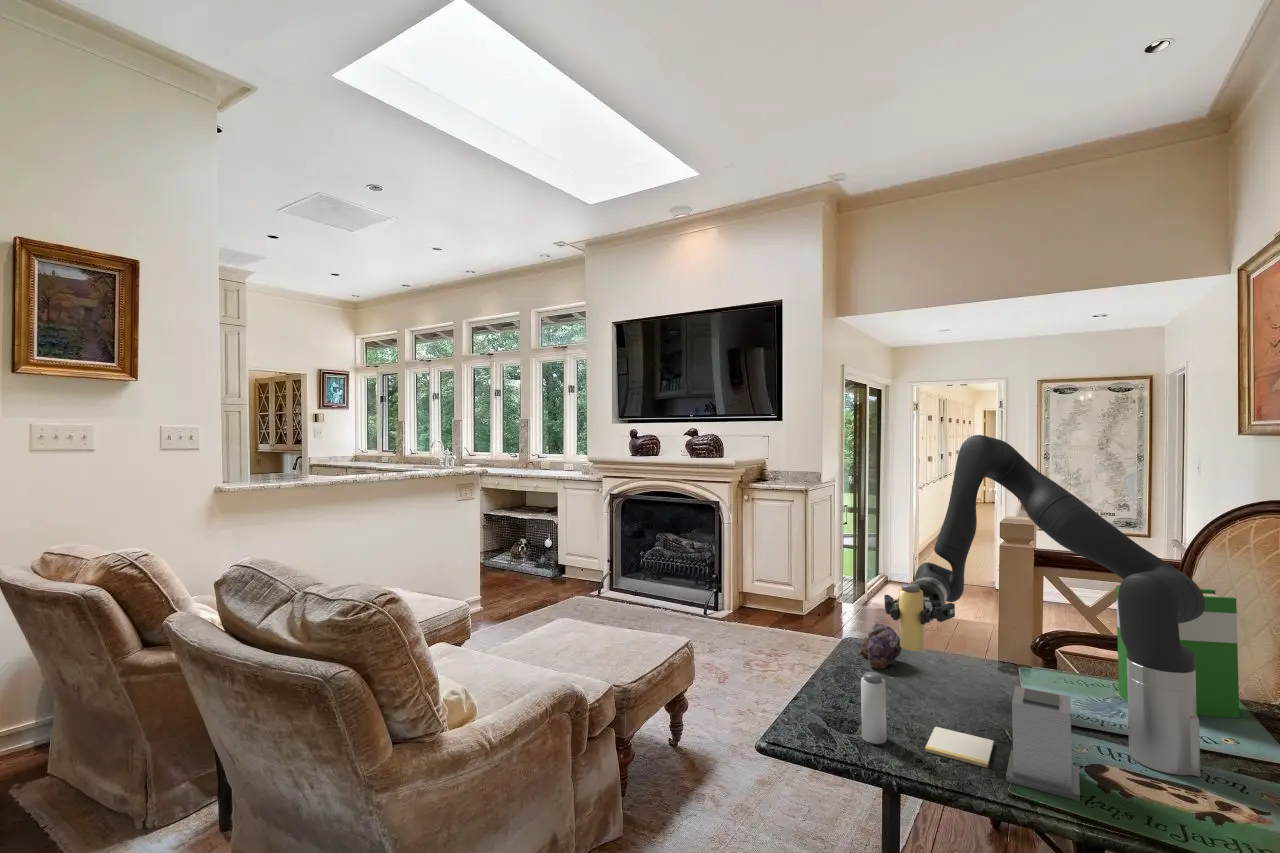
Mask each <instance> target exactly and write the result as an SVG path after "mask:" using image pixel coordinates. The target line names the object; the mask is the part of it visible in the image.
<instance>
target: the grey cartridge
mask: <svg viewBox="0 0 1280 853" xmlns="http://www.w3.org/2000/svg"><path fill="white" fill-rule="evenodd" d="M886 695H887V694H886V680H885V679H884V678H883V676H882V674H880V673H879V672H876V671H875V672H874V671H866V672H864V673H863V676H862V677H861V678H860V703H861V704H860V705H861V707H860V708H861V709H860V710H861V712H860V713H861V739H862V740H863V741H865V742H866V743H870V744H874V745H875V744H876V745H881V744H885V743H886V742H887V703H886V701H887V697H886Z"/></svg>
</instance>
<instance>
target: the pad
mask: <svg viewBox="0 0 1280 853" xmlns="http://www.w3.org/2000/svg"><path fill="white" fill-rule="evenodd" d="M994 743H995V740H994V739H993V740H992V739H989V738H985V737H980V736H976V735H972V734H967V733H964V732H961V731H960V732H959V731H955V730H952V729H947V728H943V727H939V726H934V728H933V730H932V732H931V733H930V737H929V739H928V741H927V743H926V745H925V748H924V751H925V752H926V753H930V754H933V755H936V756H942V757H944V758H947V759H953V760H956V761H961V762H963V763H967V764H971V765H975V766H979V767H983V768H986V769H988V768H989V764H990V759H991V755H992V752H993V747H994Z"/></svg>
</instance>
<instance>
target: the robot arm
mask: <svg viewBox="0 0 1280 853" xmlns="http://www.w3.org/2000/svg"><path fill="white" fill-rule="evenodd" d="M954 468H955V469H954V476H953V480H952V486H951V491H950V497H949V502H948V506H947V510H946V513H945V517H944V520H943V521H942V522H943V523H942V525H941V528H940V530H939V533H938V536H937V540H936V541H935V543H934V544H935V545H934V547H933V548H934V550H933V551H934V552H935V554H936V555H937V556H939V557H940V558H942V559H943V560H944V561H946V562H947V563H948V564H950V568H951V570H950V569H948V568H946V567H942V566H941V565H938V564H935V563H932V562H923V563H922V564H920V565H919V567H918V568H917V569H916V572H915V576H914V581H913V582H912V583H911V584H916V585H919V586H920V590H922V591H923V610H922V612H921V613H920V623H921V624H923V625H924V626H925V625H926V624H927V623H930V622H933V621H934V620H936V621H937V622H940V623H943V622H946V621H948V620H950V619H952V618H955V617H956V603H955V602H958V600H960V598H961V597H962V596H963V594H964V589H965V569H966V564H967V563H966V562H967V558H968V555H969V551H970V549H971V546H972V545H973V542H974V539H975V536H976V533H977V524H978V522H977V521H978V520H977V518H978V517H977V516H978V515H977V497H978V493H979V491H980V490H979V489H980V487H981V484H982V482H983V481H984V479H985V478H988V479H990V480H992V481H995V482H996V483H997V484H999V485H1000V486H1002V487H1003V488H1004V489H1006V490H1007V491H1009V492H1011V493H1012V494H1013V495H1014V496H1015V497H1016V498H1017V499H1018V501H1019V502H1020V503H1021V505H1022V507H1023V509H1024V511H1025V512H1026V515H1028V518H1030V520H1031V521H1032V522H1033V523H1034V524H1035V525H1036V526H1037V527H1038V528H1039V529H1041V531H1043V532H1044V533H1045V534H1046V535H1047V536H1049V537H1050V538H1051V539H1052V540H1053V541H1054V542H1056V543H1058V545H1060V546H1062V547H1064V548H1066V549H1067V550H1069V551H1070V552H1072V553H1075V554H1076V555H1078V556H1082V557H1083V558H1085V559H1087V560H1088V561H1089V560H1090V561H1092V562H1094V563H1096V564H1098V565H1100V566H1102V567H1104V568H1106V569H1107V570H1110V571H1111V572H1113V573H1114V574H1115V575H1117V576H1118V577H1119V578H1120V579H1122V580H1121V581H1122V582H1121V583H1120V584H1119V586H1120V587H1119V592H1118V610H1119V622H1120V633H1121V638H1122V641H1123V644H1124V645H1125V647H1126V651H1127V685H1128V702H1127V717H1128V720H1127V721H1128V723H1127V724H1128V726H1127V727H1128V754H1129V756H1130V757H1131V758H1132V759H1133V760H1134V761H1136V762H1137V763H1139V764H1140V765H1143V766H1145V767H1147V768H1149V769H1153V770H1155V771H1159V772H1162V773H1166V774H1171V775H1178V776H1193V777H1194V776H1195V777H1198V778H1199V777H1201V750H1200V749H1201V742H1200V739H1201V738H1200V720H1199V717H1198V715H1197V713H1196V674H1195V656H1194V654H1193V652H1192V651H1191V650H1189V649H1188V648H1186V647H1184V646H1182V645H1181V644H1180V637H1179V625H1178V624H1179V623H1184V622H1189V621H1192V620H1194V619H1196V618H1198V617H1200V616H1201V615H1202V614H1203V612H1204V610H1205V599H1204V595H1203V593H1202V591H1201V590H1200V589H1201V588H1200V587H1199V585H1198V584H1197V583H1196V582H1195V581H1194V580H1193V579H1192V578H1191V577H1189V576H1188V575H1187V574H1185V573H1183V572H1182V571H1181V570H1179V569H1178V568H1176V567H1174V566H1173V565H1171V564H1169V563H1168V562H1167V561H1164V560H1163V559H1161V558H1159V557H1158V556H1156V555H1155V554H1153V553H1152V552H1150V551H1149V550H1147V549H1145V548H1144V547H1142V546H1140V544H1138V543H1137V542H1135V541H1134V540H1133V539H1131V538H1130V537H1129V536H1127V535H1126V534H1125V533H1123V532H1122V531H1121V530H1119V529H1118V528H1117V527H1116V526H1115V525H1113V524H1112V523H1111V522H1109V521H1108V520H1106V519H1105V518H1103V516H1101V515H1100V514H1098V513H1097V512H1096V511H1095V510H1093V508H1091V507H1090V506H1089V505H1087V504H1086V503H1085V502H1083V500H1081V499H1080V498H1078V497H1077V496H1075V495H1074V494H1073V493H1072V492H1069V491H1068V490H1067V489H1065V488H1064V487H1063V486H1061V485H1059V484H1058V483H1057V482H1056V481H1054V480H1052V479H1051V478H1049V477H1048V476H1046V475H1044V474H1043V473H1042V472H1040V471H1039V470H1038V469H1037V468H1035V467H1034V466H1033V465H1032V464H1031V463H1030V462H1029V461H1028V460H1027V459H1026V458H1025V457H1024V456H1022V455H1021V454H1020V453H1019V451H1018V450H1016V449H1015V448H1014V447H1013V446H1012V445H1011V444H1009V443H1008V442H1006V441H1005V440H1001V439H999V438H995V437H992V436H991V437H990V436H987V435H982V434H975V435H971V436H970V437H967V439H965V440H964V441H963V442H962V444H961V446H960V447H959V451H958V454H957V458H956V463H955V467H954ZM883 598H884V601H883V602H884V609H885V613H886V615H890V618H891V619H892V620H893V621H896V622H897V621H898V620H899V597H897V599H896V598H894V597H893V596H891V595H889V594H885V595H883ZM947 602H948V603H947Z"/></svg>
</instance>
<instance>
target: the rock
mask: <svg viewBox="0 0 1280 853" xmlns="http://www.w3.org/2000/svg"><path fill="white" fill-rule="evenodd" d="M867 635H868V637H864V638H863V639H862V643H861V648H860V650H859V654H860V655H861V656H862V655H863V656H862V657H864V656H865V657H864V658H867V660H868V664H869V666H870V667H872V668H875V669H878V668H879V669H880V670H882V668H883V669H885V668H887V667H888V665H893V664H894V662H895V660H896V658H897V659H898V657H899V656H900V654H901V653H902V649H903V648H901V647H900V635H898V634H897V632H896V631H895V630H894V629H893V628H892V627H890V626H888V625H885V624H882V623H876V622H875V624H872V625H871V626H870V629H868V634H867Z"/></svg>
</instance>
